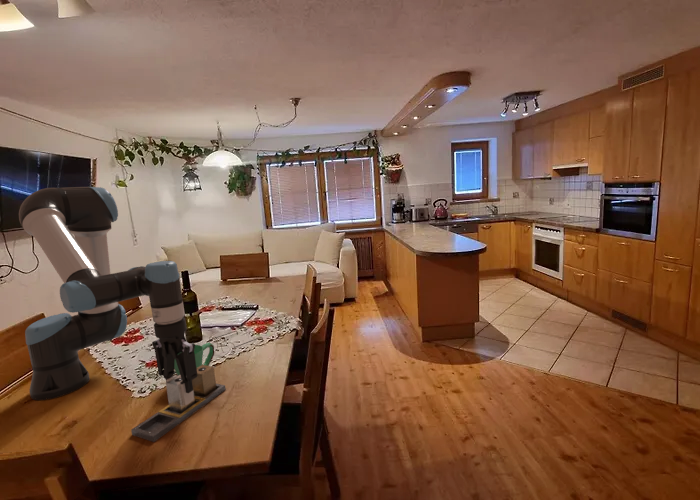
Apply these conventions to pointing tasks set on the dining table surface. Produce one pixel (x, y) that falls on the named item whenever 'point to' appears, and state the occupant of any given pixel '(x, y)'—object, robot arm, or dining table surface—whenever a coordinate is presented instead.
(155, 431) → the grey slotted tray
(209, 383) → the brown rectangular block
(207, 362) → the mug
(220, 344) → the eyeglasses
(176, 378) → the white rectangular block
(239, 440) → the dining table surface
